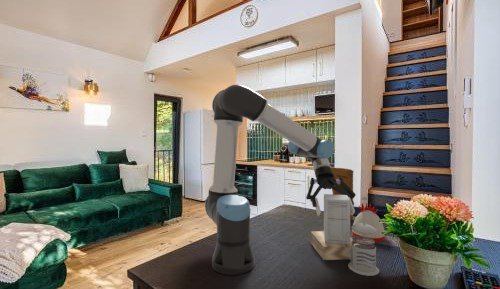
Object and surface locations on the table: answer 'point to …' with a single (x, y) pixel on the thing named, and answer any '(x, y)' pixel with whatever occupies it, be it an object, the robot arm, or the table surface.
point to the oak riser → (330, 247)
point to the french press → (363, 250)
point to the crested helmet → (369, 223)
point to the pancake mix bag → (347, 178)
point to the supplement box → (336, 218)
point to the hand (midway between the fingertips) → (336, 213)
